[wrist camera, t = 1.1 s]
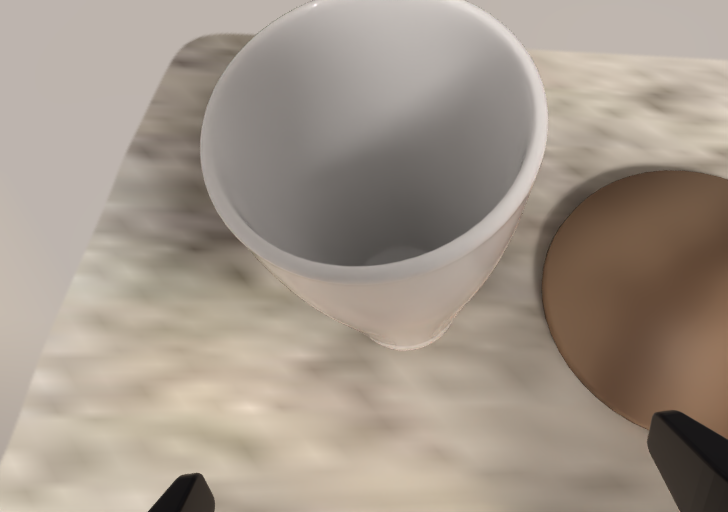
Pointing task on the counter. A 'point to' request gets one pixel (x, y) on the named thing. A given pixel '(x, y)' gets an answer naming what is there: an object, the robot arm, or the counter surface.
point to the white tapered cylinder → (377, 157)
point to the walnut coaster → (646, 296)
